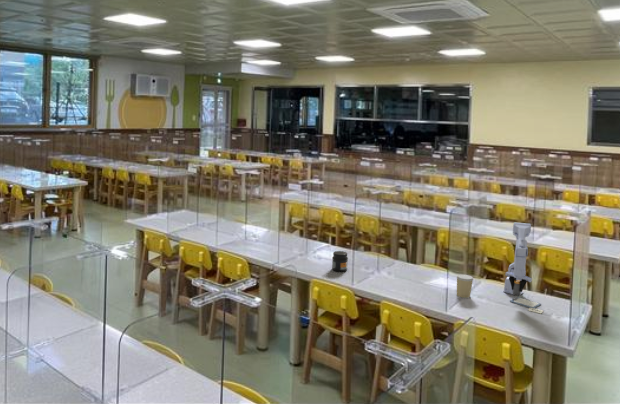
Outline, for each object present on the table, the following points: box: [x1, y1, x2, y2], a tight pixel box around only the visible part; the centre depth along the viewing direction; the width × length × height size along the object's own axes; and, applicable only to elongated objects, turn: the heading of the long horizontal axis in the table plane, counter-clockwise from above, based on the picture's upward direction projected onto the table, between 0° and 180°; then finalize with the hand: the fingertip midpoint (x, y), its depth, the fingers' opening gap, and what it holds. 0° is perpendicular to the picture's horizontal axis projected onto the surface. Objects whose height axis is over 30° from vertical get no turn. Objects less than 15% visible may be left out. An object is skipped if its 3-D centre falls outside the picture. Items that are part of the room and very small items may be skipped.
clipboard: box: [509, 296, 542, 309], centre depth 306 cm, size 14×10×1 cm
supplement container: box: [331, 250, 349, 273], centre depth 354 cm, size 10×10×12 cm
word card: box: [527, 308, 544, 314], centre depth 295 cm, size 7×5×1 cm
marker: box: [512, 280, 521, 297], centre depth 300 cm, size 4×4×8 cm
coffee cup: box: [456, 273, 474, 299], centre depth 314 cm, size 9×9×12 cm
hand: (516, 290), depth 300 cm, fingers closed on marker, 4 cm apart
